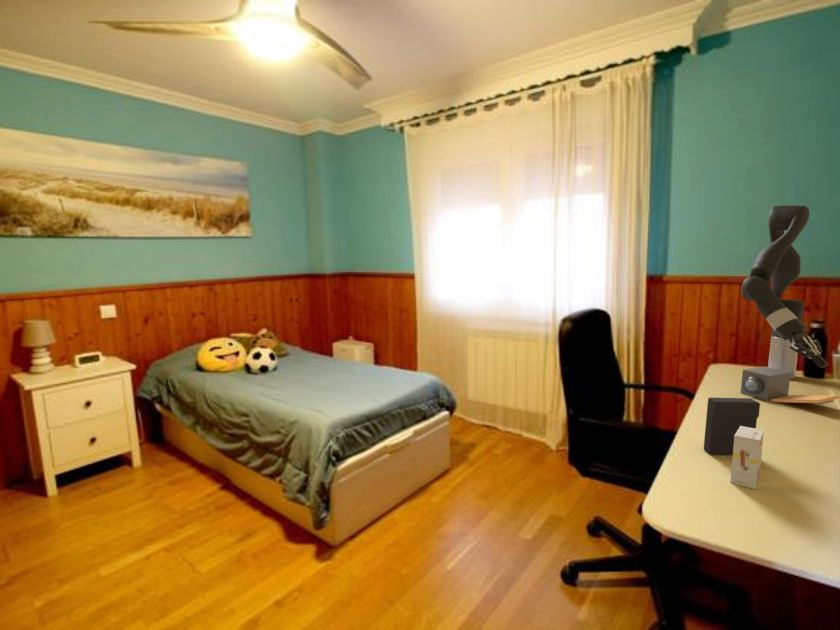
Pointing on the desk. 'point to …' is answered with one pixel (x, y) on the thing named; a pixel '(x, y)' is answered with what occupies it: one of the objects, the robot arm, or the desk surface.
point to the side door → (807, 399)
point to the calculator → (727, 422)
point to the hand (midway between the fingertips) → (824, 366)
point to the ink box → (747, 456)
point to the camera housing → (765, 383)
